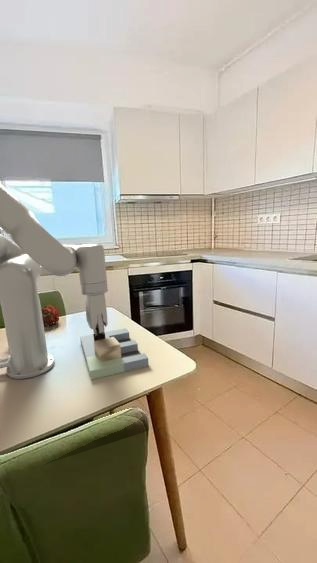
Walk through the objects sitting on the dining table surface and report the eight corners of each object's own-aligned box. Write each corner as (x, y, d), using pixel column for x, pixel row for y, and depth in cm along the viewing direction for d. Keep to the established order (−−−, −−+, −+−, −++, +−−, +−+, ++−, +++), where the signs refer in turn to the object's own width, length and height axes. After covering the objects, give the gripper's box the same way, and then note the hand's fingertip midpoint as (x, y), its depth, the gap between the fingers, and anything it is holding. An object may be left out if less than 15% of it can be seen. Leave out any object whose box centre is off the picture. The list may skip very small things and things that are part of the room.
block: (100, 362, 76) (99, 349, 75) (94, 353, 81) (93, 341, 80) (121, 357, 78) (120, 344, 77) (114, 348, 84) (113, 336, 83)
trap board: (90, 379, 72) (89, 371, 72) (81, 343, 94) (80, 336, 94) (148, 365, 78) (148, 357, 77) (126, 334, 100) (126, 328, 99)
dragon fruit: (50, 333, 109) (47, 327, 119) (66, 317, 111) (62, 313, 122) (33, 318, 106) (32, 314, 116) (50, 302, 108) (48, 299, 119)
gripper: (77, 283, 85) (84, 339, 89) (84, 295, 72) (91, 359, 76) (102, 280, 88) (107, 334, 92) (113, 291, 74) (118, 353, 78)
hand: (100, 345), depth 84 cm, fingers closed
